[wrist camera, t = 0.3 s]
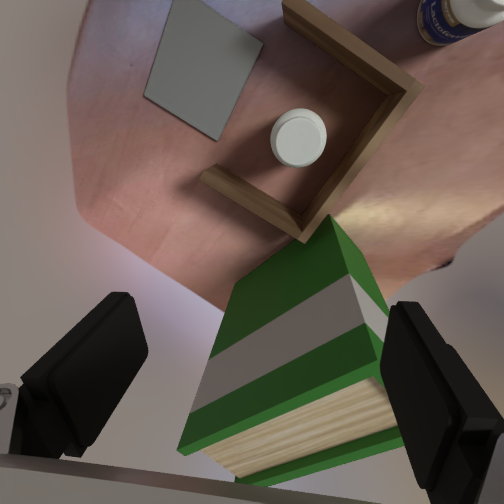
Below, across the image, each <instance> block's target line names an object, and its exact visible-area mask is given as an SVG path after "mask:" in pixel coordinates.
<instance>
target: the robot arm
mask: <svg viewBox="0 0 504 504" xmlns="http://www.w3.org/2000/svg"><path fill="white" fill-rule="evenodd" d="M147 356H148V347H147V342H146V339H145V335H144V332H143V328H142V325H141V321H140V318H139V314H138V311H137V307H136V304H135V300H134V298H133V297H132V296H130V294H129V293H127V292H111V293H110V294H109V295H107V296H106V297H105V298H104V299H103V300H102V301H101V302H100V303H99V304H98V305H97V306H96V307H95V308H94V309H92V310H91V311H90V312H89V313H88V314H87V315H86V316H85V317H84V318H83V319H82V320H81V321H80V322H79V323H78V324H76V326H74V327H73V328H72V329H71V330H70V331H69V332H68V333H67V334H66V335H65V336H64V337H63V338H62V339H61V340H59V341H58V342H57V343H56V344H55V345H54V346H53V347H52V348H51V349H50V350H49V351H48V352H47V353H46V354H44V355H43V356H42V357H41V358H40V359H39V360H38V361H37V362H36V363H35V364H34V365H33V366H32V367H31V368H30V369H28V371H26V372H25V373H24V374H23V375H22V376H21V377H20V378H21V379H22V381H23V383H24V384H23V385H22V386H21V387H20V388H18V387H17V386H16V385H15V384H11V383H6V384H0V504H379V503H373V502H366V501H360V500H354V499H348V498H340V497H334V496H327V495H319V494H312V493H305V492H298V491H291V490H284V489H277V488H270V487H263V486H256V485H249V484H242V483H234V482H227V481H219V480H212V479H205V478H197V477H190V476H183V475H176V474H168V473H161V472H153V471H146V470H138V469H130V468H123V467H115V466H108V465H100V464H92V463H84V462H77V461H69V460H62V459H59V458H60V457H61V455H62V454H63V452H64V454H65V456H72V457H80V458H81V457H82V455H83V454H84V452H85V450H86V449H87V447H89V446H91V445H92V444H93V443H94V442H95V440H96V438H97V437H98V435H99V434H100V432H101V431H102V429H103V427H104V426H105V424H106V423H107V421H108V419H109V418H110V416H111V415H112V413H113V411H114V410H115V408H116V407H117V405H118V403H119V402H120V400H121V399H122V397H123V395H124V394H125V392H126V390H127V389H128V387H129V386H130V384H131V382H132V381H133V379H134V378H135V376H136V374H137V373H138V371H139V370H140V368H141V366H142V365H143V363H144V362H145V360H146V358H147ZM380 374H381V377H382V380H383V383H384V386H385V389H386V392H387V395H388V398H389V401H390V404H391V407H392V410H393V413H394V416H395V419H396V422H397V425H398V428H399V431H400V433H401V436H402V439H403V442H404V445H405V448H406V451H407V454H408V457H409V460H410V463H411V466H412V469H413V472H414V475H415V478H416V481H417V483H418V485H419V487H420V488H421V489H426V491H427V494H428V497H429V500H430V503H431V504H504V419H503V417H502V416H501V415H500V413H499V412H498V410H497V409H496V407H495V406H494V404H493V403H492V402H491V400H490V399H489V397H488V396H487V394H486V393H485V392H484V390H483V389H482V387H481V386H480V384H479V383H478V382H477V380H476V379H475V377H474V376H473V374H472V373H471V372H470V370H469V369H468V367H467V366H466V364H465V363H464V362H463V360H462V359H461V357H460V356H459V354H458V353H457V351H456V350H455V349H454V348H453V347H452V346H451V345H449V344H446V342H445V341H444V339H443V338H442V337H441V335H440V333H439V332H438V330H437V329H436V327H435V326H434V324H433V323H432V322H431V320H430V319H429V317H428V316H427V314H426V313H425V311H424V310H423V308H422V307H421V305H420V304H419V303H418V302H409V301H398V302H397V304H396V305H392V306H391V308H390V313H389V318H388V323H387V328H386V333H385V339H384V344H383V349H382V354H381V360H380Z"/></svg>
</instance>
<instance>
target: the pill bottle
mask: <svg viewBox="0 0 504 504" xmlns="http://www.w3.org/2000/svg"><path fill="white" fill-rule="evenodd" d="M503 20H504V0H421V1H420V4H419V8H418V13H417V25H418V29H419V32H420V34H421V36H422V37H423V38H424V40H426V41H427V42H428V43H430V44H433V45H439V46H443V45H449V44H452V43H454V42H457V41H459V40H461V39H464V38H466V37H468V36H470V35H473V34H475V33H477V32H480V31H482V30H484V29H486V28H489V27H491V26H493V25H495V24H498V23H500V22H501V21H503Z"/></svg>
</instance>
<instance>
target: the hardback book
mask: <svg viewBox="0 0 504 504" xmlns="http://www.w3.org/2000/svg"><path fill="white" fill-rule="evenodd" d="M389 313H390V311H389V309H388V307H387V305H386V303H385V300H384V298H383V296H382V294H381V292H380V290H379V288H378V285H377V283H376V281H375V279H374V277H373V275H372V273H371V271H370V268H369V266H368V264H367V262H366V260H365V258H364V256H363V254H362V252H361V251H360V250H359V249H358V247H357V246H356V245H355V244H354V243H353V241H352V240H351V239H350V238H349V237H348V235H347V234H346V233H345V232H344V231H343V229H342V228H341V227H340V226H339V225H338V223H337V222H336V221H335V220H334V219H333V217H332V216H331V215H330V214H329V215H327V216H326V217H325V218H324V219H323V221H322V222H321V223H320V225H319V226H318V227H317V229H316V230H315V231H314V232H313V234H312V235H311V236H310V238H309V239H308V240H307V242H306V243H305V244H304V243H302V242H301V241H299V240H297V239H295V240H293V241H292V242H291V243H289V244H288V245H287V246H285V247H284V248H283V249H281V250H280V251H279V252H277V253H276V254H275V255H273V256H272V257H271V258H269V259H268V260H266V261H265V262H264V263H262V264H261V265H260V266H258V267H257V268H256V269H254V270H253V271H252V272H250V273H249V274H248V275H246V276H245V277H244V278H242V279H241V280H239V281H238V282H237V283H235V285H234V288H233V291H232V294H231V297H230V300H229V302H228V305H227V308H226V311H225V314H224V317H223V320H222V322H221V325H220V328H219V331H218V334H217V337H216V340H215V343H214V345H213V348H212V351H211V354H210V356H209V359H208V362H207V365H206V368H205V371H204V374H203V376H202V379H201V382H200V385H199V388H198V391H197V394H196V396H195V399H194V402H193V405H192V408H191V411H190V413H189V416H188V419H187V422H186V425H185V428H184V431H183V434H182V436H181V439H180V442H179V445H178V448H177V451H178V452H180V453H181V454H183V455H184V456H187V455H189V454H191V453H194V452H196V451H199V450H201V451H202V452H203V453H205V454H206V455H208V456H209V457H210V458H212V459H213V460H215V461H216V462H217V463H219V464H220V465H222V466H223V467H225V468H226V469H227V470H229V471H230V472H231V473H233V474H234V475H235V481H234V483H242V484H249V485H256V486H263V487H268V486H272V485H275V484H278V483H282V482H285V481H288V480H292V479H295V478H298V477H302V476H305V475H309V474H312V473H315V472H318V471H322V470H325V469H329V468H332V467H335V466H338V465H342V464H345V463H349V462H352V461H356V460H359V459H362V458H366V457H369V456H372V455H376V454H379V453H382V452H386V451H389V450H392V449H396V448H399V447H402V446H405V445H404V442H403V439H402V436H401V433H400V431H399V428H398V425H397V422H396V419H395V416H394V413H393V410H392V407H391V404H390V401H389V398H388V395H387V392H386V389H385V386H384V383H383V380H382V377H381V374H380V360H381V354H382V349H383V344H384V339H385V333H386V328H387V323H388V318H389Z"/></svg>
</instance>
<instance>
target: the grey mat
mask: <svg viewBox="0 0 504 504" xmlns="http://www.w3.org/2000/svg"><path fill="white" fill-rule="evenodd" d="M263 45H264V44H263V43H262V42H260V41H259V40H257V39H256V38H254V37H253V36H252V35H250V34H249V33H247V32H246V31H244V30H243V29H241V28H240V27H238V26H237V25H235V24H234V23H232V22H231V21H229V20H228V19H227V18H225V17H224V16H222V15H221V14H219V13H218V12H216V11H215V10H213V9H212V8H210V7H209V6H207V5H206V4H205V3H203V2H202V1H200V0H174V1H173V4H172V7H171V10H170V13H169V17H168V20H167V23H166V26H165V29H164V33H163V36H162V39H161V42H160V45H159V49H158V52H157V55H156V58H155V61H154V65H153V68H152V71H151V74H150V77H149V80H148V84H147V87H146V90H145V93H144V96H146V97H147V98H149V99H151V100H152V101H154V102H155V103H157V104H159V105H160V106H162V107H163V108H165V109H167V110H168V111H170V112H171V113H173V114H175V115H176V116H178V117H179V118H181V119H183V120H184V121H186V122H187V123H189V124H191V125H192V126H194V127H195V128H197V129H199V130H200V131H202V132H203V133H205V134H207V135H208V136H210V137H211V138H213V139H215V140H216V141H219V139H220V136H221V134H222V132H223V130H224V128H225V126H226V124H227V122H228V119H229V117H230V115H231V113H232V111H233V109H234V107H235V105H236V102H237V100H238V98H239V96H240V94H241V92H242V90H243V88H244V85H245V83H246V81H247V79H248V77H249V75H250V73H251V71H252V68H253V66H254V64H255V62H256V60H257V58H258V56H259V54H260V51H261V49H262V47H263Z"/></svg>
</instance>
